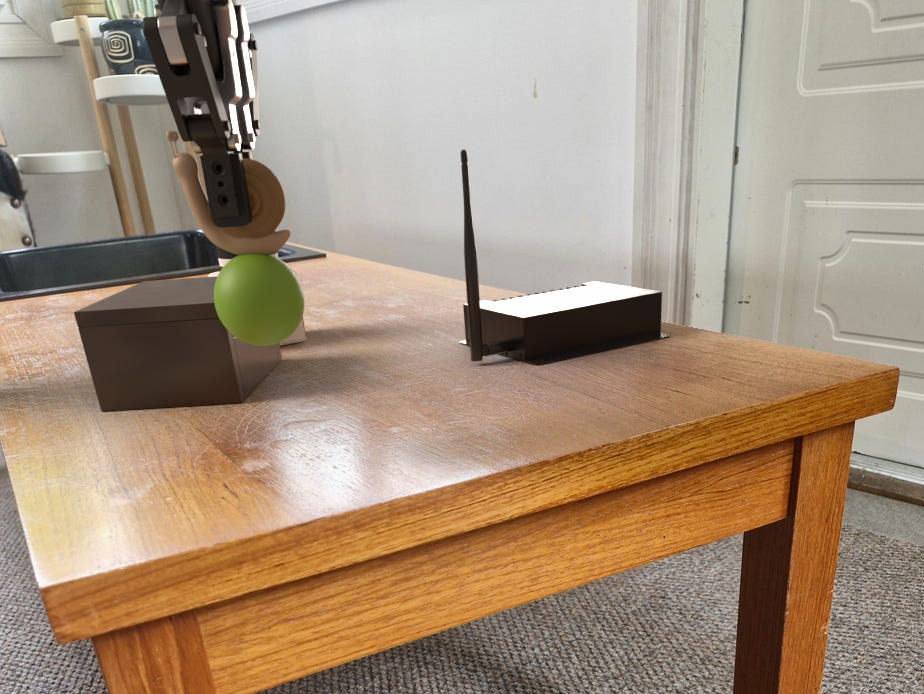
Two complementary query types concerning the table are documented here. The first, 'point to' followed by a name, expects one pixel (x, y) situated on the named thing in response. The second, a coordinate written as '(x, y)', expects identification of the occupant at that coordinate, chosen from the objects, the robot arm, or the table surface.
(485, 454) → the table surface
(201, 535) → the table surface
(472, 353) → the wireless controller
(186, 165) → the snail figurine
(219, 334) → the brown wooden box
